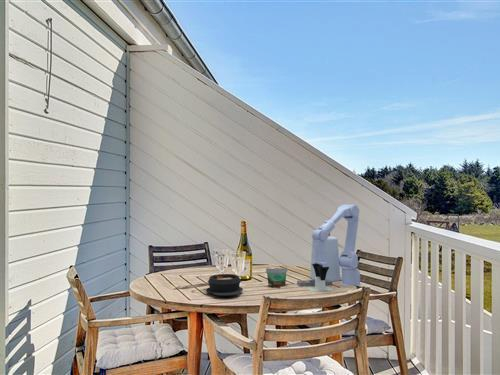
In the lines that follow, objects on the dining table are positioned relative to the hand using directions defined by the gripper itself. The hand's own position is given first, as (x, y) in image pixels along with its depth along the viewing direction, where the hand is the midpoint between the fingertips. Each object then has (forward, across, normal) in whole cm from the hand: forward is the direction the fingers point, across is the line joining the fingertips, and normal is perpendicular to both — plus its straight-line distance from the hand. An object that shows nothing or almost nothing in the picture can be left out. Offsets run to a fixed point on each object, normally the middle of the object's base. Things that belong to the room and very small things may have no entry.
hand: (320, 278), depth 203 cm
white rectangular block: (+5, 0, 0) cm, 5 cm away
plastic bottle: (+6, -24, +11) cm, 27 cm away
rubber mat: (+6, 0, 0) cm, 6 cm away
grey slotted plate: (+6, -10, 0) cm, 12 cm away
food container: (+6, -11, -20) cm, 24 cm away
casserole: (+6, -1, -50) cm, 50 cm away
